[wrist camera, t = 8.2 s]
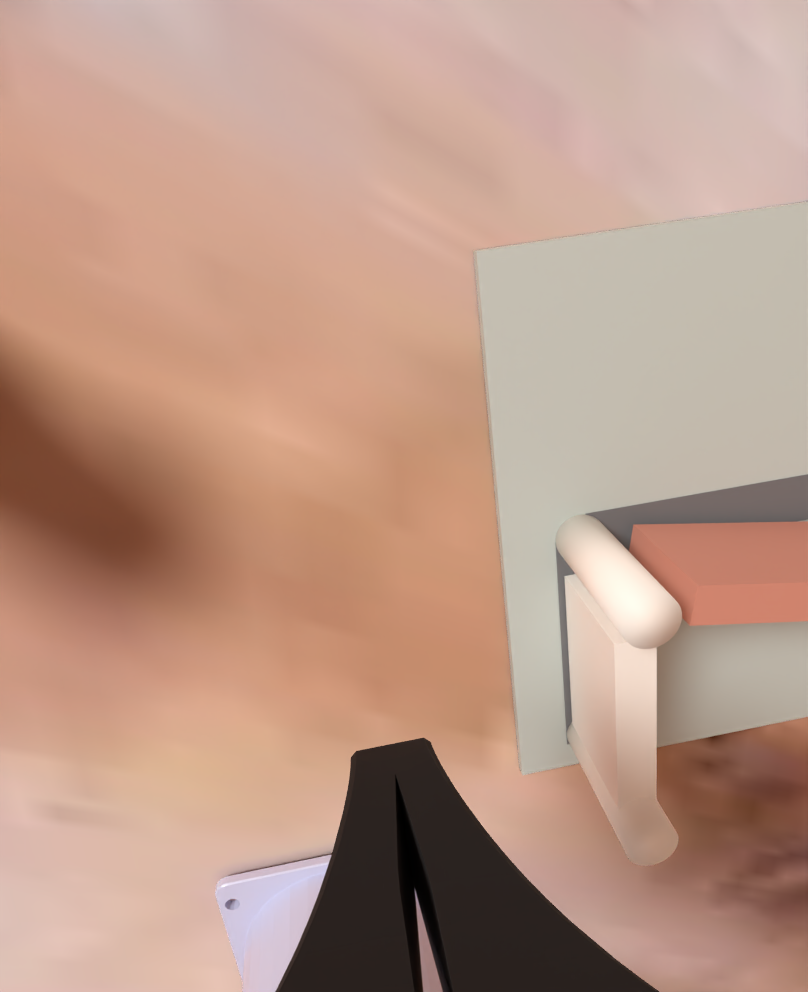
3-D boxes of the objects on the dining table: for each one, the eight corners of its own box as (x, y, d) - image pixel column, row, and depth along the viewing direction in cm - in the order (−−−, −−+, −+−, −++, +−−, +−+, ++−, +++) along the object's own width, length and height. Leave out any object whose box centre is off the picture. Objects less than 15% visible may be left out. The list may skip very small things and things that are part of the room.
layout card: (903, 689, 28) (912, 696, 28) (519, 767, 27) (522, 775, 27) (983, 175, 21) (996, 174, 21) (473, 250, 20) (477, 251, 20)
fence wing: (626, 565, 24) (703, 649, 19) (634, 518, 23) (715, 593, 18) (849, 559, 25) (971, 637, 20) (862, 514, 24) (991, 584, 20)
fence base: (606, 736, 27) (678, 859, 22) (563, 745, 27) (626, 871, 22) (599, 505, 24) (682, 588, 18) (549, 514, 23) (620, 600, 18)
